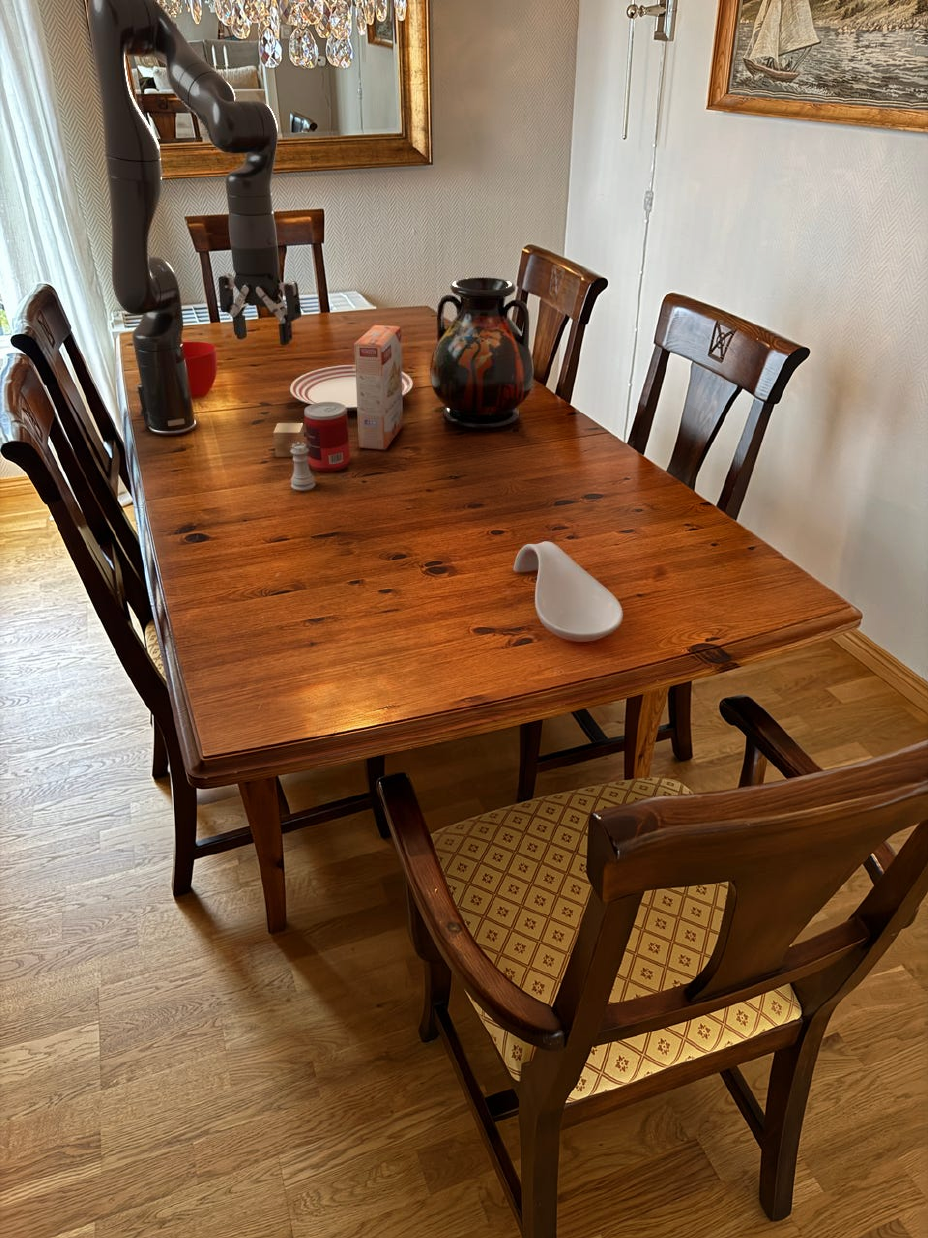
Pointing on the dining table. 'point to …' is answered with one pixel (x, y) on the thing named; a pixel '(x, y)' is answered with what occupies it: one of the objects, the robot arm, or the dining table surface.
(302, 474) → the rook chess piece
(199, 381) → the ceramic cup
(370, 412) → the cracker box
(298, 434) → the maple block
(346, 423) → the canned food
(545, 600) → the spoon rest
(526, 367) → the amphora vase
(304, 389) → the dinner plate
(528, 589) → the dining table surface
